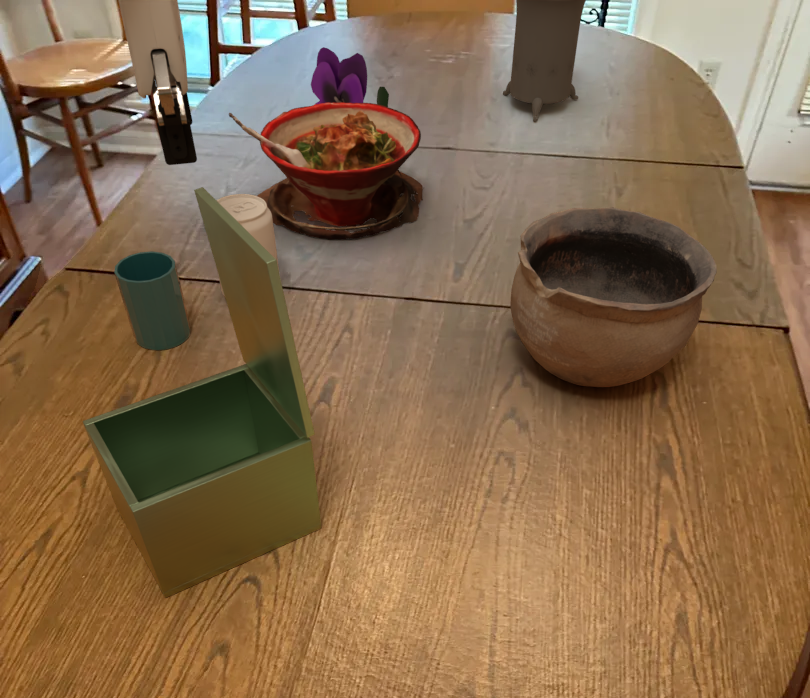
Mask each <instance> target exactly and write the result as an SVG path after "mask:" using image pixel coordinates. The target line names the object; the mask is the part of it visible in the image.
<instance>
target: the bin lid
mask: <svg viewBox="0 0 810 698" xmlns="http://www.w3.org/2000/svg"><path fill="white" fill-rule="evenodd" d="M193 190H194V194H195V198H196V203H197V205H198V209H199V212H200V215H201V219H202V223H203V226H204V229H205V233H206V237H207V239H208V243H209V247H210V249H211V250H210V251H211V255H212V258H213V261H214V264H215V267H216V270H217V275H218V274H219V276H218V279H219V278H220V281H221V285H222V288H223V292H224V295H225V297H224V298H225V302H226V305H227V309H228V312H229V316H230V319H231V322H232V326H233V329H234V333H235V337H236V340H237V343H238V347H239V350H240V354H241V357H242V360H243V362H244V364H247V365H248V367H249V368H250V369H251V370H252V371H253V373H254V374H255V375H256V376H257V378H258V379H259V380H260V381H261V382H262V384H263V385H264V386H265V387H266V388H267V390H268V391H269V392H270V393H271V395H272V396H273V397H274V398H275V399H276V401H277V402H278V403H279V404H280V405H281V407H282V408H283V409H284V410H285V411H286V413H287V414H288V415H289V416H290V418H291V419H292V420H293V421H294V422H295V424H296V425H297V426H298V427H299V428H300V430H301V431H302V432H303V433H304V435H305V436H306V437H307V438H308V437H309V438H310V437H312V436H314V435H316V433H315V428H314V423H313V419H312V415H311V411H310V405H309V401H308V397H307V393H306V388H305V383H304V379H303V374H302V370H301V365H300V361H299V357H298V352H297V347H296V342H295V339H294V334H293V329H292V324H291V320H290V319H291V318H290V315H289V311H288V306H287V302H286V297H285V292H284V289H283V284H282V279H281V275H280V269H279V270H278V266H279V264H278V265H277V261H276V259H275V258H274V257H273V256H272V255H271V254H270V253H269V252H268V251H267V250H266V249H265V248H264V247H263V246H262V245H261V244H260V243H259V242H258V241H257V240H256V239H255V238H254V237H253V236H252V235H251V234H250V233H249V232H248V231H247V230H246V229H245V228H244V227H243V226H242V225H241V224H240V223H239V222H238V221H237V220H236V219H235V218H234V217H233V216H232V215H231V214H230V213H229V212H228V211H227V210H226V209H225V208H223V207H222V206H221V205H220V204H219V203H218V202H217V201H216V200H217V199H216V198H214V196H213V195H211V194H210V193H209V191H208V190H206V189H205V187H204V186H202V187H199V188H196V189H193ZM220 281H219V282H220ZM224 295H223V296H224Z"/></svg>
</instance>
